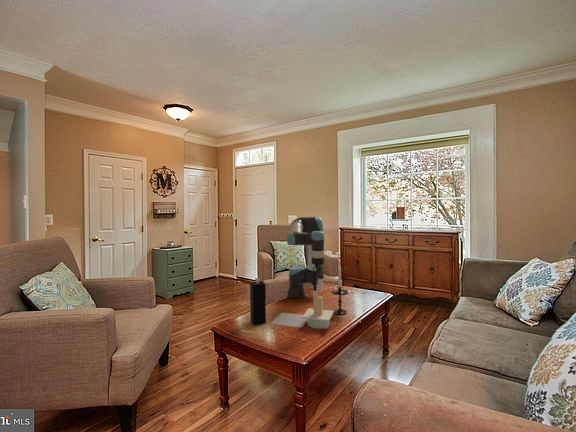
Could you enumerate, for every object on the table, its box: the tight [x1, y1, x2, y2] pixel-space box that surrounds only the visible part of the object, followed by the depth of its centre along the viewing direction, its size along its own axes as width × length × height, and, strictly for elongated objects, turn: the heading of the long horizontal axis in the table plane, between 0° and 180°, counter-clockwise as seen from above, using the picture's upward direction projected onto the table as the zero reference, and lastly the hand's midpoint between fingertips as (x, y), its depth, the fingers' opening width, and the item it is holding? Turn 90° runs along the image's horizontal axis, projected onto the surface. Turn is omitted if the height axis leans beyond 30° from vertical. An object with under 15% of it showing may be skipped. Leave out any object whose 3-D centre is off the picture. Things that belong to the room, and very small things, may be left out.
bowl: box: [306, 319, 331, 330], centre depth 177 cm, size 13×13×6 cm
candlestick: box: [331, 260, 349, 316], centre depth 198 cm, size 11×11×35 cm
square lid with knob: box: [302, 295, 334, 321], centre depth 177 cm, size 16×16×11 cm
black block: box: [249, 277, 267, 326], centre depth 181 cm, size 8×8×28 cm
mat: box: [269, 312, 307, 328], centre depth 185 cm, size 20×20×1 cm
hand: (318, 292), depth 177 cm, fingers open, 13 cm apart
